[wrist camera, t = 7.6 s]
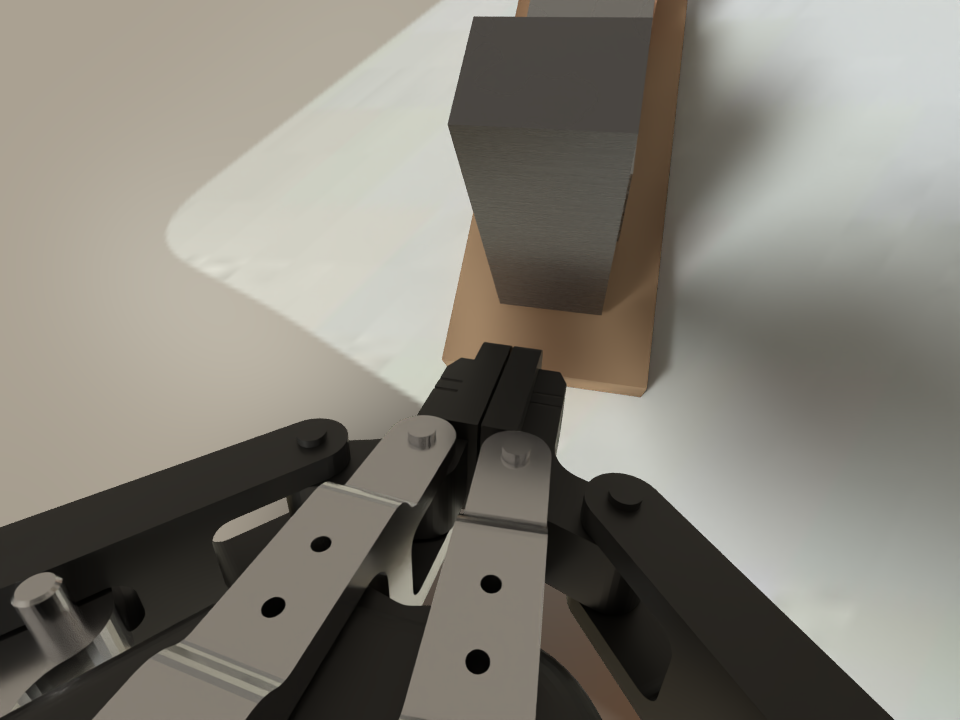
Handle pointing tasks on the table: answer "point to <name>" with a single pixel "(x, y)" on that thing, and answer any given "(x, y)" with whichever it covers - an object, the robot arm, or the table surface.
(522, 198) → the brushed grey metal block
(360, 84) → the table surface
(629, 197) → the guide board
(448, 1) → the table surface
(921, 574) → the table surface
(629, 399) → the table surface
